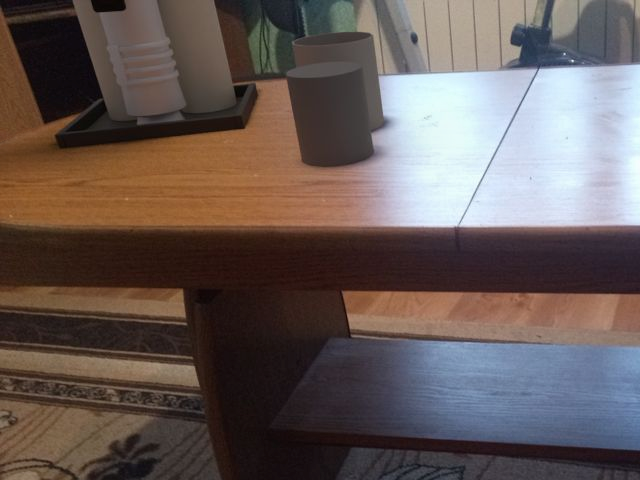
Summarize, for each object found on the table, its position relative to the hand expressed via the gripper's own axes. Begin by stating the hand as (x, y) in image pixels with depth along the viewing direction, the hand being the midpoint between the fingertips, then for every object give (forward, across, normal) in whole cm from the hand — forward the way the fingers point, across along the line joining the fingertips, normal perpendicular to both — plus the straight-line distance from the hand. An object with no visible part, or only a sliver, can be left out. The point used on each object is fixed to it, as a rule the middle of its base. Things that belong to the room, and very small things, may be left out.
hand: (121, 6), depth 81 cm
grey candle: (+14, +22, +22) cm, 34 cm away
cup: (+14, +11, +23) cm, 29 cm away
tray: (+14, -4, +1) cm, 14 cm away
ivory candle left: (+13, -9, -4) cm, 16 cm away
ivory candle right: (+13, -9, +5) cm, 17 cm away
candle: (+13, 0, +1) cm, 13 cm away
